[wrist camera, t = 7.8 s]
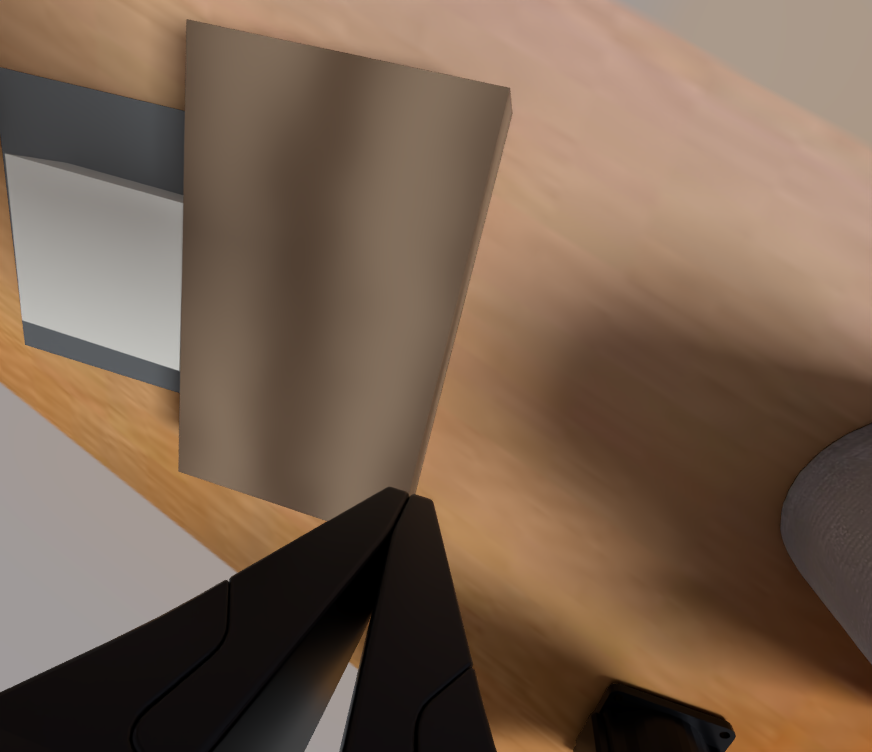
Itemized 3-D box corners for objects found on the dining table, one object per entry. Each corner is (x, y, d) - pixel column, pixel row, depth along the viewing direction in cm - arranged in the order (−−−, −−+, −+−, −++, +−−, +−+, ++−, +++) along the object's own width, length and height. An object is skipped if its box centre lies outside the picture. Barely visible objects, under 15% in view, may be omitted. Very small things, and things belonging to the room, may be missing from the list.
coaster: (226, 207, 19) (184, 203, 16) (217, 355, 21) (179, 370, 19) (66, 162, 19) (4, 153, 17) (75, 310, 22) (22, 320, 20)
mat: (227, 122, 18) (220, 119, 18) (213, 399, 22) (208, 402, 22) (2, 68, 19) (-8, 65, 19) (33, 342, 24) (25, 344, 23)
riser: (512, 113, 16) (509, 87, 13) (412, 504, 22) (396, 544, 19) (241, 54, 17) (186, 19, 14) (219, 442, 23) (178, 471, 21)
